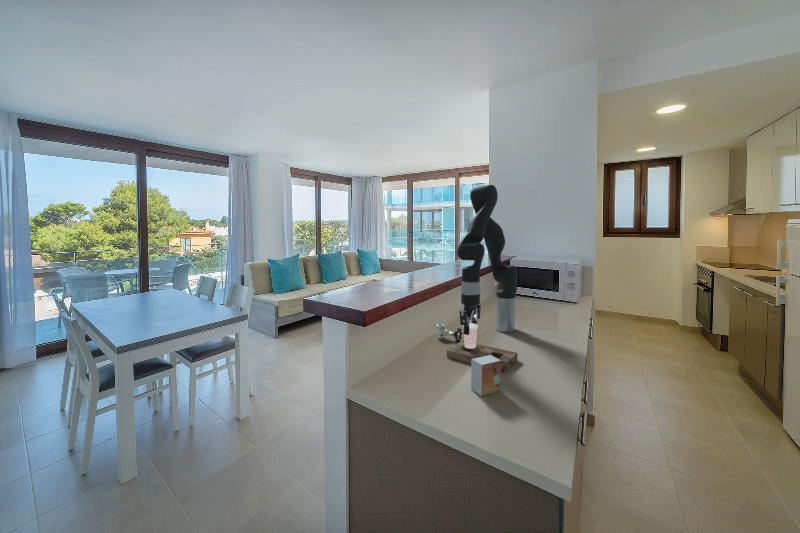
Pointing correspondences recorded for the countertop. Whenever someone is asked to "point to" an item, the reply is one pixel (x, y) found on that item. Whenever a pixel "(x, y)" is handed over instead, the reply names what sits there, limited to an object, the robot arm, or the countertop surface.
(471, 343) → the beverage cup
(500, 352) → the socket plate
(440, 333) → the valve
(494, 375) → the small box
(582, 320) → the countertop surface
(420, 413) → the countertop surface
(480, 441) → the countertop surface
